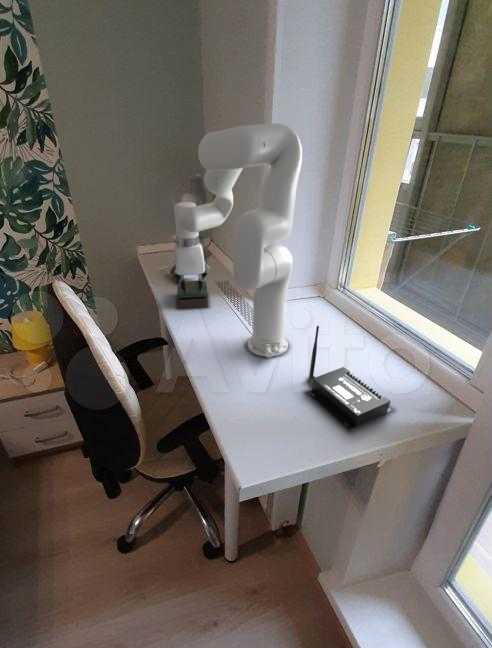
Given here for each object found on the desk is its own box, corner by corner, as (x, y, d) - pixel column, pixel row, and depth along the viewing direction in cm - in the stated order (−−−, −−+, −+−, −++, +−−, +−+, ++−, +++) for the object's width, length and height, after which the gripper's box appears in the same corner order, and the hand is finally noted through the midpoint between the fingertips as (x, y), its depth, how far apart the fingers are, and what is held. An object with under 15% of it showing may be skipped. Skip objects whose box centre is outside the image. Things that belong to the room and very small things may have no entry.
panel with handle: (207, 296, 139) (206, 281, 137) (177, 298, 139) (175, 283, 136) (206, 284, 151) (205, 270, 148) (178, 285, 150) (177, 272, 147)
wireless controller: (392, 410, 94) (409, 352, 84) (349, 430, 88) (362, 371, 79) (336, 368, 109) (345, 315, 99) (296, 383, 103) (302, 329, 94)
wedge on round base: (173, 276, 168) (183, 287, 158) (171, 262, 164) (182, 272, 155) (192, 272, 171) (203, 283, 161) (191, 258, 168) (202, 268, 158)
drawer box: (208, 307, 142) (207, 298, 140) (178, 309, 142) (177, 299, 140) (206, 293, 153) (206, 284, 151) (179, 294, 152) (178, 285, 150)
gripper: (162, 245, 126) (168, 295, 136) (213, 242, 127) (215, 292, 137) (163, 239, 133) (169, 287, 143) (212, 236, 134) (214, 284, 144)
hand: (192, 289), depth 140 cm, fingers closed on panel with handle, 5 cm apart
